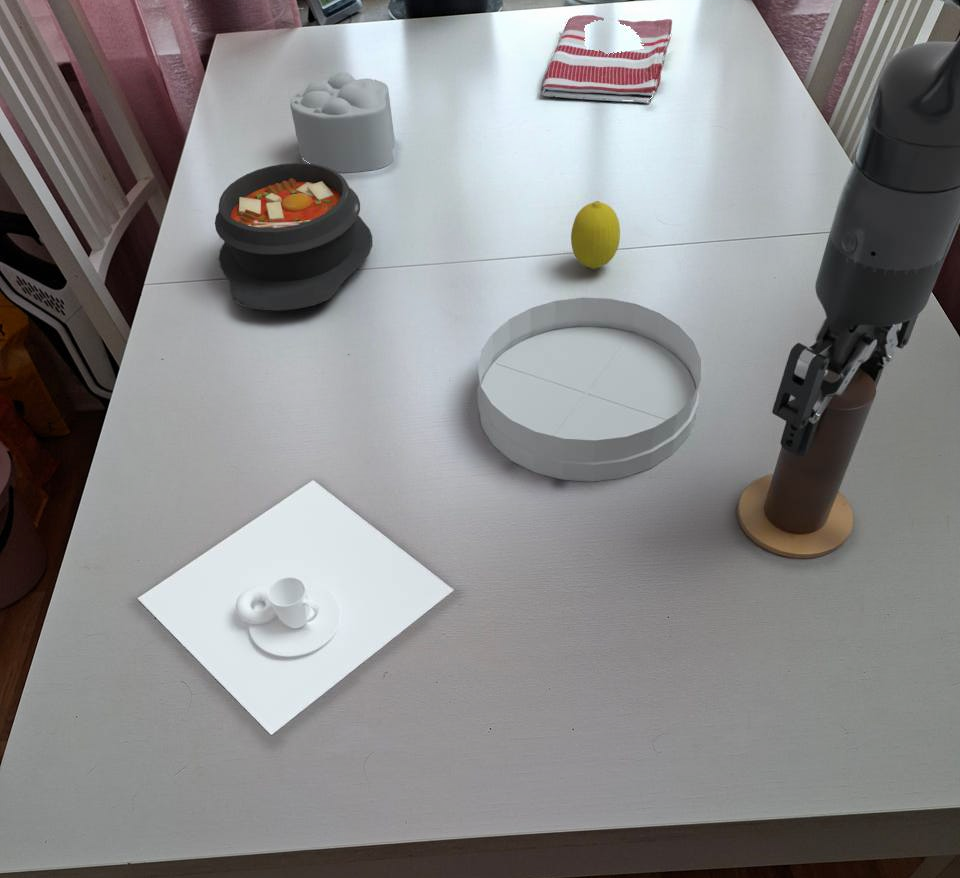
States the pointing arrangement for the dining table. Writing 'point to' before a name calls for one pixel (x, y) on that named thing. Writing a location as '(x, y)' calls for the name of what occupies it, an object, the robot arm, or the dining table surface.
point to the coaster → (791, 543)
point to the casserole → (290, 236)
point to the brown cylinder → (820, 461)
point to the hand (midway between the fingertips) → (825, 424)
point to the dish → (588, 388)
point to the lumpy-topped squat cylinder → (344, 124)
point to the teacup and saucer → (293, 603)
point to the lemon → (595, 234)
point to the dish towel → (607, 64)
